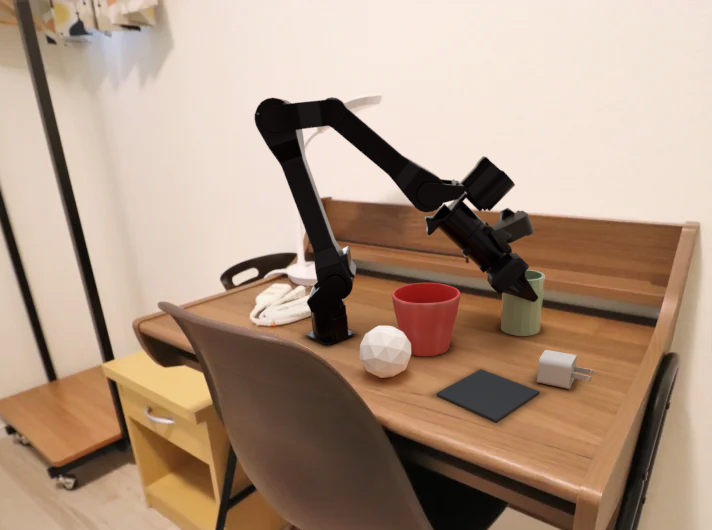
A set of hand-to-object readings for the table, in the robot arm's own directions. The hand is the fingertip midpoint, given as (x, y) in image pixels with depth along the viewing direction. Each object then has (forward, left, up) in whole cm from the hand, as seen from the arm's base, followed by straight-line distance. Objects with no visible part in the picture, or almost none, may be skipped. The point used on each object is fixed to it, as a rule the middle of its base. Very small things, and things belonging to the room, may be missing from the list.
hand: (530, 293), depth 88 cm
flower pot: (-8, -18, -7) cm, 21 cm away
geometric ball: (-6, -29, -7) cm, 31 cm away
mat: (+9, -24, -7) cm, 27 cm away
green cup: (-1, -1, -7) cm, 7 cm away
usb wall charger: (+15, -14, -7) cm, 22 cm away
